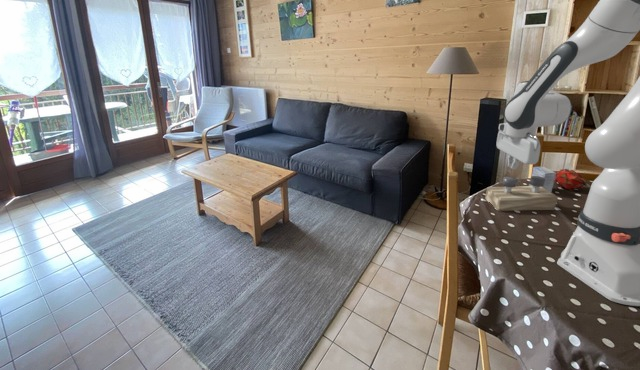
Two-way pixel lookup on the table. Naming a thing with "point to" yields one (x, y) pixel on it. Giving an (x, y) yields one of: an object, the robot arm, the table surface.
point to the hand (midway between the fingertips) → (512, 168)
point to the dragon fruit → (569, 179)
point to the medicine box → (545, 174)
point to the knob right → (537, 183)
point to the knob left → (509, 183)
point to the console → (521, 198)
